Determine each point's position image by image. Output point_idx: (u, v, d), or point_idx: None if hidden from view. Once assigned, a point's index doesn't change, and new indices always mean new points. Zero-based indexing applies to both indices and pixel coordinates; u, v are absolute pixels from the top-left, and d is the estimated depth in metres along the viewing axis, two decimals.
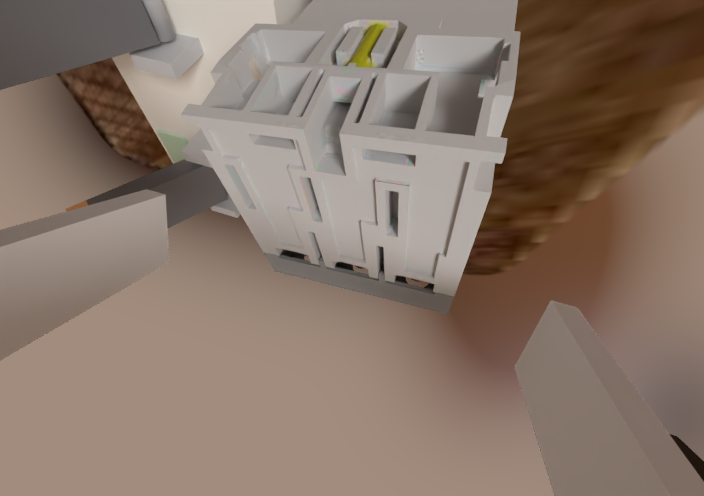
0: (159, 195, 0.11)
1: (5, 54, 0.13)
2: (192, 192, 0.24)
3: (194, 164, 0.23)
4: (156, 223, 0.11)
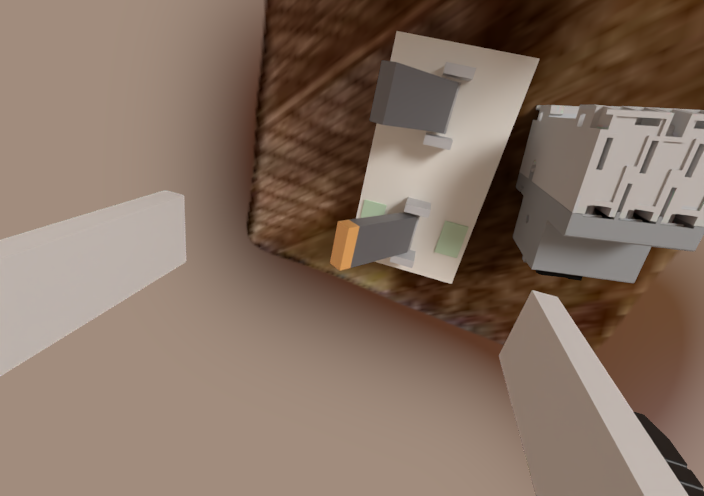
0: (178, 196, 0.11)
1: (406, 111, 0.24)
2: (399, 236, 0.31)
3: (406, 216, 0.32)
4: (175, 223, 0.11)
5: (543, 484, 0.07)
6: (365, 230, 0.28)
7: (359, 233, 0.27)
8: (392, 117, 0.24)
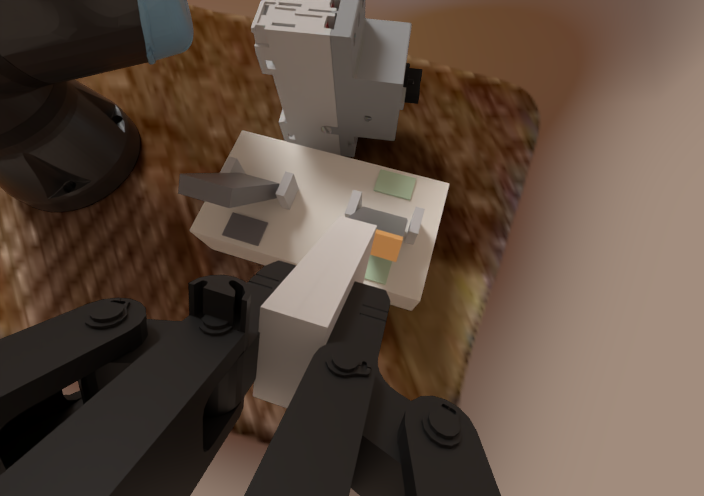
0: (355, 221, 0.12)
1: (233, 182, 0.24)
2: (379, 215, 0.27)
3: None
4: None
5: None
6: None
7: None
8: (231, 185, 0.23)
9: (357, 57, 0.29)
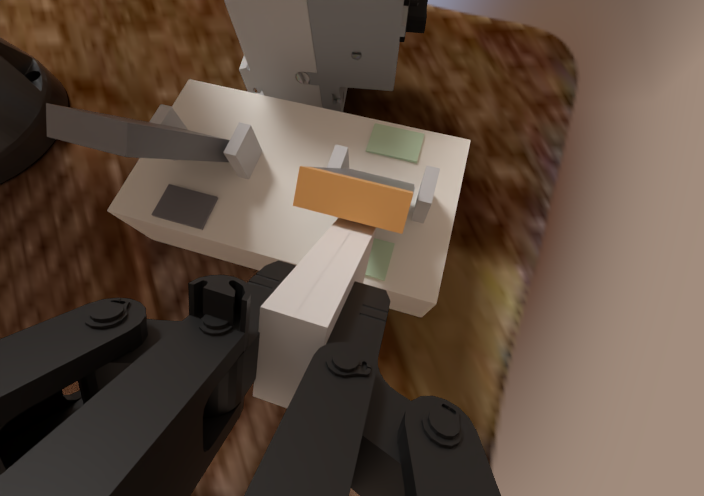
0: None
1: (144, 124, 0.16)
2: (374, 175, 0.18)
3: None
4: None
5: None
6: (328, 169, 0.13)
7: (329, 170, 0.12)
8: (132, 122, 0.14)
9: None
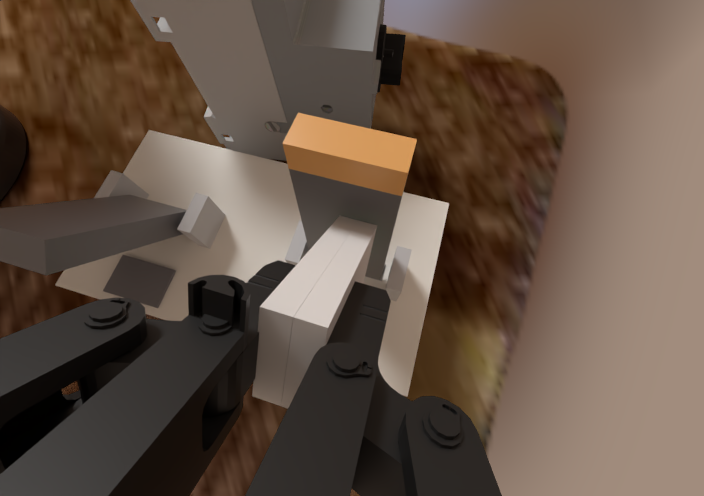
0: (355, 221, 0.12)
1: (76, 221, 0.14)
2: None
3: None
4: None
5: None
6: None
7: None
8: (56, 231, 0.13)
9: (302, 12, 0.19)
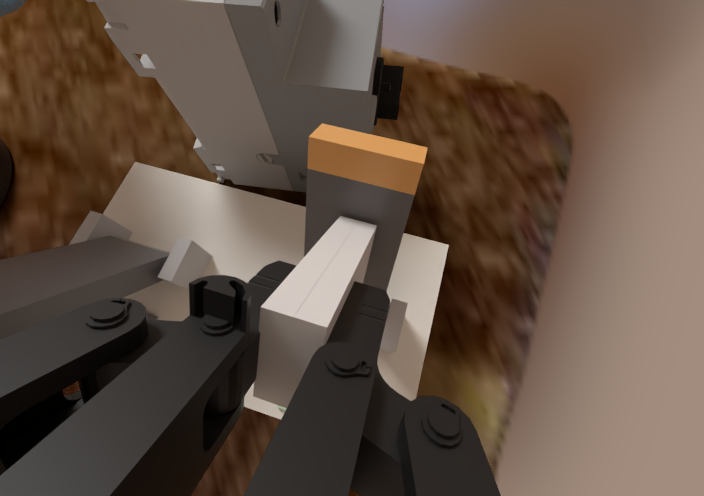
0: (355, 221, 0.12)
1: (41, 282, 0.13)
2: None
3: None
4: None
5: None
6: None
7: None
8: (15, 299, 0.12)
9: (293, 47, 0.17)
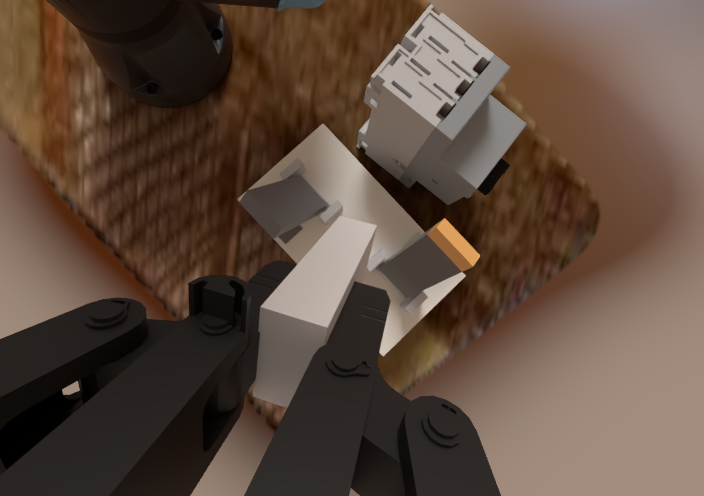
0: (355, 221, 0.12)
1: (287, 210, 0.27)
2: None
3: (389, 259, 0.32)
4: None
5: None
6: None
7: None
8: (283, 219, 0.26)
9: None
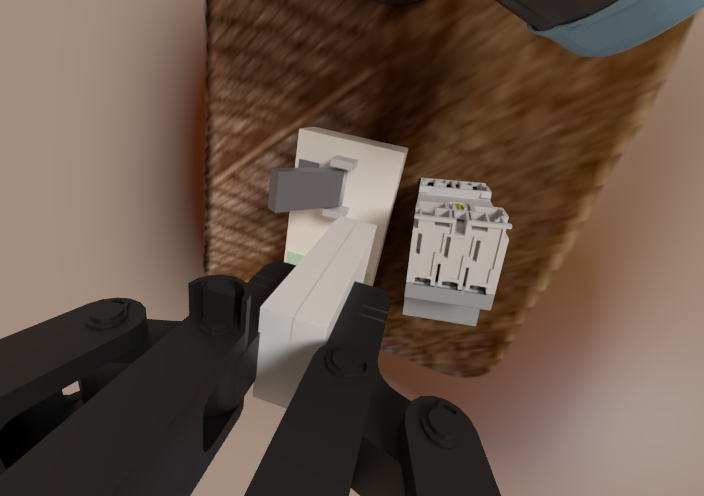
0: (355, 221, 0.12)
1: (295, 199, 0.32)
2: None
3: None
4: None
5: None
6: None
7: None
8: (283, 206, 0.32)
9: None
